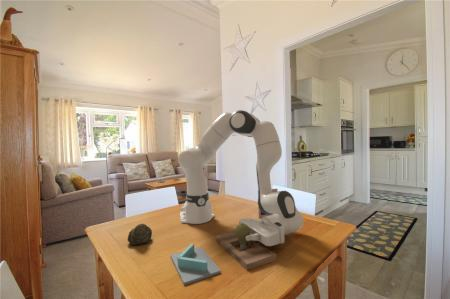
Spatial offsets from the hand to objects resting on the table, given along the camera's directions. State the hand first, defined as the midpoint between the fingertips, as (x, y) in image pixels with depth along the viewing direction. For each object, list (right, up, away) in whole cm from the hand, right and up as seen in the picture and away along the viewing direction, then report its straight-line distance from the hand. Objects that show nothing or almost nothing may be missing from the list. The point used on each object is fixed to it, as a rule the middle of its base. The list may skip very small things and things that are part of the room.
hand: (240, 234), depth 83 cm
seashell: (-43, -7, +12) cm, 45 cm away
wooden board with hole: (+1, -6, +1) cm, 6 cm away
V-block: (-17, -7, -8) cm, 20 cm away
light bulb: (+1, -6, +1) cm, 6 cm away
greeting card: (+17, -4, +38) cm, 42 cm away
